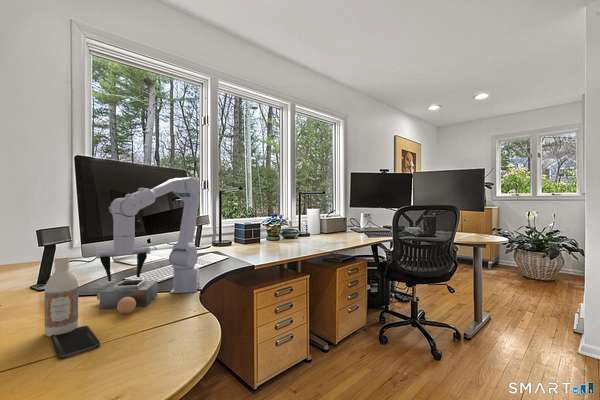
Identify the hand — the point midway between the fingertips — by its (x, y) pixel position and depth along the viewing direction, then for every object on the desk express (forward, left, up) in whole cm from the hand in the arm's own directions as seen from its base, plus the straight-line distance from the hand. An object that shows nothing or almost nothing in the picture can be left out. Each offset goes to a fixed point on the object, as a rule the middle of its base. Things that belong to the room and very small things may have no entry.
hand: (124, 278), depth 90 cm
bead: (-1, +2, -8) cm, 8 cm away
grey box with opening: (+3, -9, -10) cm, 14 cm away
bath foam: (+10, +12, -11) cm, 19 cm away
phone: (+3, +19, -11) cm, 22 cm away
